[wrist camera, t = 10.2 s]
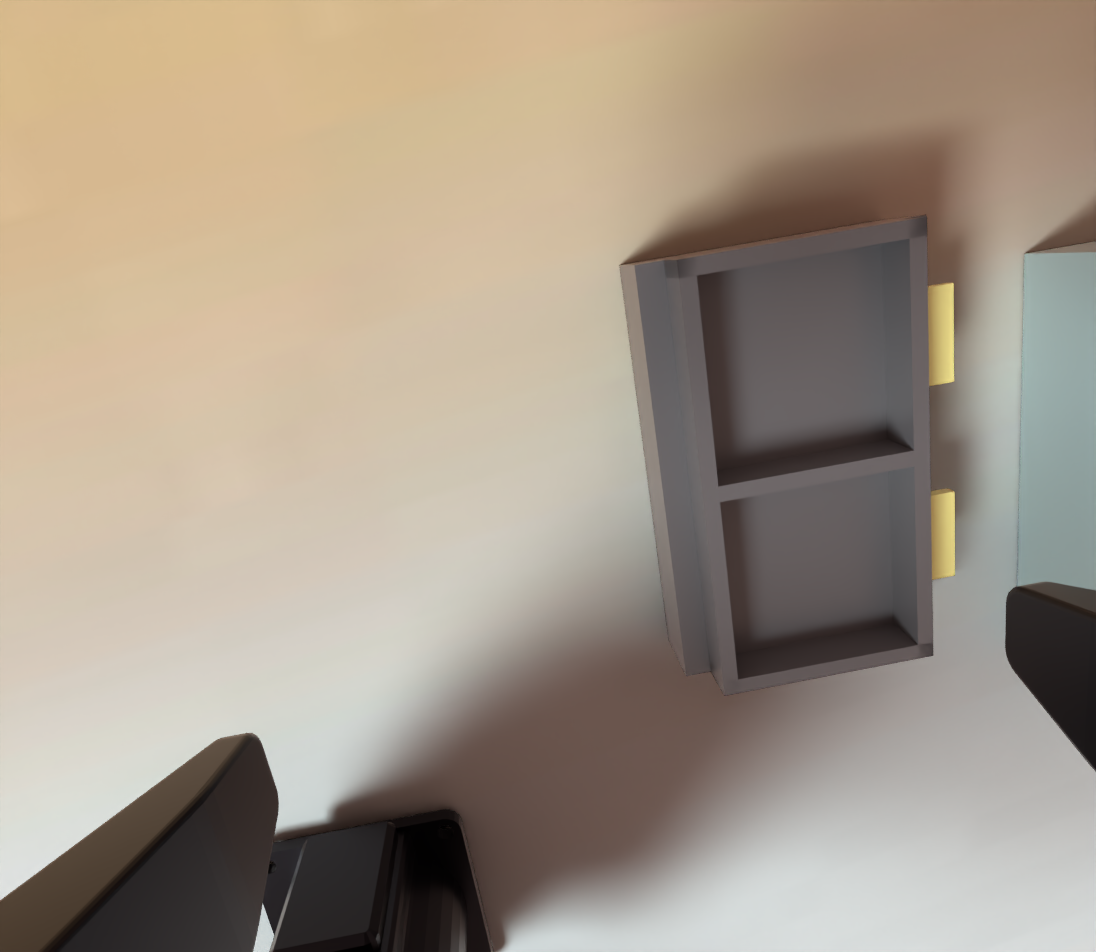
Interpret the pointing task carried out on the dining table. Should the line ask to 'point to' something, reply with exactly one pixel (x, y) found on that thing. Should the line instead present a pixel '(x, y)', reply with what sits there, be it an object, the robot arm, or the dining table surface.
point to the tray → (1058, 419)
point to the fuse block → (794, 449)
